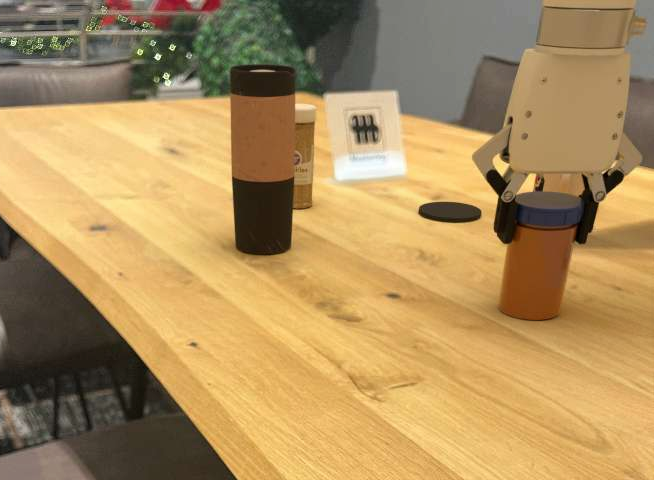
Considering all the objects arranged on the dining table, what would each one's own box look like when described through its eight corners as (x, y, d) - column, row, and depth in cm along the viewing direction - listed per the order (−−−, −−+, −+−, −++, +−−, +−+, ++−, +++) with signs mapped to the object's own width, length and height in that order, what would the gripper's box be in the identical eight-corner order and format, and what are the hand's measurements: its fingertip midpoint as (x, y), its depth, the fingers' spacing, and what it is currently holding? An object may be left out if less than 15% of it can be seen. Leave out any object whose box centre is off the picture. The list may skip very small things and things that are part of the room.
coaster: (473, 205, 115) (474, 201, 114) (487, 222, 107) (488, 218, 107) (414, 205, 115) (414, 201, 114) (423, 222, 107) (424, 217, 107)
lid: (519, 227, 73) (522, 209, 72) (502, 208, 78) (505, 191, 77) (590, 226, 73) (594, 208, 72) (568, 207, 78) (572, 190, 77)
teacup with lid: (531, 196, 119) (547, 114, 113) (592, 202, 117) (612, 118, 110) (524, 216, 110) (541, 127, 103) (590, 222, 108) (612, 132, 101)
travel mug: (224, 242, 99) (218, 65, 87) (276, 234, 102) (277, 62, 90) (249, 259, 93) (246, 73, 82) (303, 250, 96) (308, 70, 85)
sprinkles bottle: (281, 208, 112) (282, 107, 104) (284, 200, 116) (285, 102, 108) (312, 209, 112) (315, 108, 104) (314, 201, 116) (317, 103, 108)
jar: (549, 296, 83) (569, 197, 77) (568, 319, 78) (590, 215, 72) (491, 298, 83) (506, 199, 77) (506, 320, 78) (523, 216, 72)
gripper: (662, 30, 69) (611, 229, 80) (473, 28, 69) (446, 229, 79) (701, 37, 63) (640, 252, 74) (494, 35, 63) (462, 252, 73)
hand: (540, 238), depth 77 cm, fingers closed on lid, 6 cm apart
